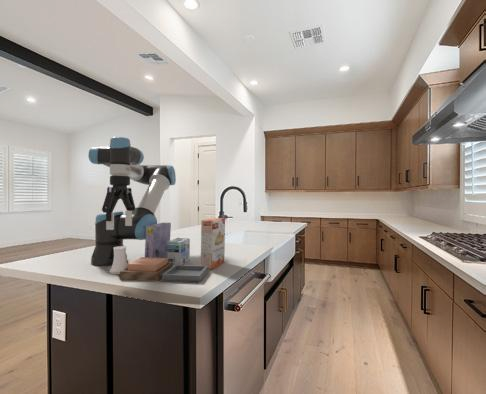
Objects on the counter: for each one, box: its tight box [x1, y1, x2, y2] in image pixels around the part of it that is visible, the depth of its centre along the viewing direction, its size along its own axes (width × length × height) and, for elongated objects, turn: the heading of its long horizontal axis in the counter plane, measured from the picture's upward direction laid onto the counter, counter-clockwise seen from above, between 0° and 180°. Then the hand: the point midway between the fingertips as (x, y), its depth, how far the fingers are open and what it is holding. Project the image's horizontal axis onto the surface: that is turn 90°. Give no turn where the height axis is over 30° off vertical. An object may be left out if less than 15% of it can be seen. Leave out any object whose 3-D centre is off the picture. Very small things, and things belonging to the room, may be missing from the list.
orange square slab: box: [127, 256, 167, 272], centre depth 106 cm, size 11×11×2 cm
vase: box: [109, 245, 129, 275], centre depth 110 cm, size 8×8×10 cm
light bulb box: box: [167, 237, 191, 266], centre depth 125 cm, size 11×7×11 cm, turn 168°
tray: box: [161, 264, 209, 284], centre depth 104 cm, size 14×14×2 cm
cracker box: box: [200, 217, 226, 270], centre depth 120 cm, size 14×6×21 cm, turn 162°
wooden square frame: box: [119, 262, 174, 282], centre depth 106 cm, size 15×15×3 cm
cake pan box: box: [144, 222, 172, 258], centre depth 128 cm, size 19×5×18 cm, turn 172°
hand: (119, 227), depth 109 cm, fingers open, 13 cm apart
